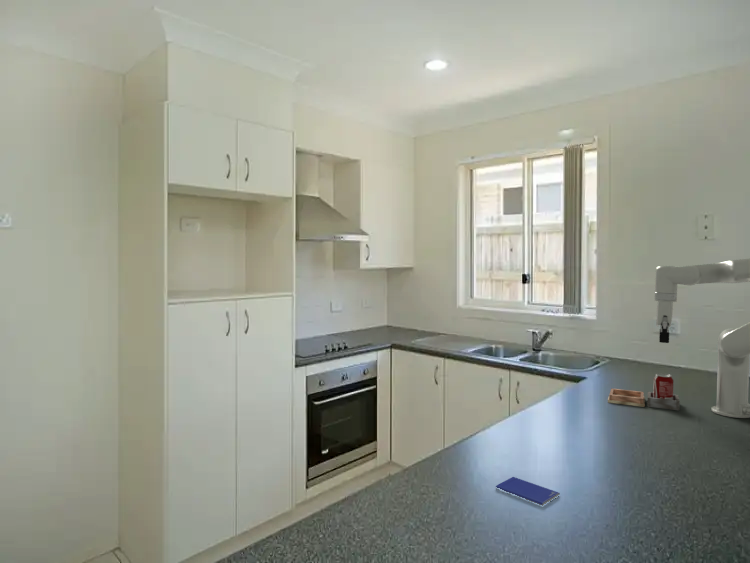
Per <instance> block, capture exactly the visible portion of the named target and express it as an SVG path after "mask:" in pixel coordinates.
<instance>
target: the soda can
mask: <svg viewBox="0 0 750 563" xmlns="http://www.w3.org/2000/svg"><path fill="white" fill-rule="evenodd" d="M652 386H653V388H652V392H653V398H660V399H669V400H673V394H674V379H673V375H672V374H669V373H659V372H658V373H655V376H654V377H653V384H652Z"/></svg>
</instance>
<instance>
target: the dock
mask: <svg viewBox="0 0 750 563" xmlns="http://www.w3.org/2000/svg"><path fill="white" fill-rule="evenodd" d="M644 394H645V393H644V391H639V390H637V391H636V390H630V389H620V388H611V389H610V392H609V395H608V398H607V403H609V404H618V405H626V406H634V407H643V408H645V406H646V404H645V402H646V396H644ZM680 403H681V402H680V397H679V394H674V393H673V400H669V399H660V398H653V391H647V407H648V408H649V407H650V408H656V409H663V410H672V411H673V410H674V411H680Z"/></svg>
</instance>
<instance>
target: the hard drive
mask: <svg viewBox="0 0 750 563" xmlns="http://www.w3.org/2000/svg"><path fill="white" fill-rule="evenodd" d="M496 487H497V488H500V489H502V490H504V491H506V492H509V493H512V494H515V495H517V496H519V497H522V498H525V499H526V500H529V501H531V502H534V503H537V504H539V505H542V506H543V505H544V504H546V503H547V502H549V501H551V500H552V499H554V498H555V497H557V496H558V495H560V496H561V494H560V492H558V491H555V490H553V489H549V488H546V487H544V486H541V485H539V484H536V483H532V482H530V481H527V480H523V479H521V478H519V477H518V478H517V477H516V476H512V477H510V478H508V479H505V480H504V481H503V482H500V483H498V484H497V485H496V486H495V488H496Z"/></svg>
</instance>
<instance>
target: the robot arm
mask: <svg viewBox="0 0 750 563" xmlns="http://www.w3.org/2000/svg"><path fill="white" fill-rule="evenodd" d="M654 280H655V281H654V282H655V285H654V302H657V304H656V327H659V326H660V329H659V335H658V336H659V338H658V339H659V343H664V344H669V343H670V328H671V327H672V321H673V310H674V308H673V307H674V303H677V300H678V299H677V298H678V285H681V286H688V287H690V286H695V285H702V284H714V283H715V284H716V283H717V284H718V283H724V284H740V283H749V282H750V258H742V259H741V258H738V259H732V260H731V259H730V260H726V261H722V262H715V263H707V264H706V263H705V264H704V263H703V264H695V265H693V264H692V265H685V266H684V265H683V266H674V265H659V266H657V267H656V269H655V279H654ZM716 378H717V379H716V405H714V406H711V409H710V410H711V412H713V413H714V414H716V415H719V416H724V417H729V418H737V419H750V403H749V380H750V379H749V378H750V321H749V322H748V323H746V324H743V325H742V326H740V327H739V326H738V327H737V328H735V327H731V328H726V329H724V330H722V331H721V332H720V334H719V335H718V338H717V376H716Z"/></svg>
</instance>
